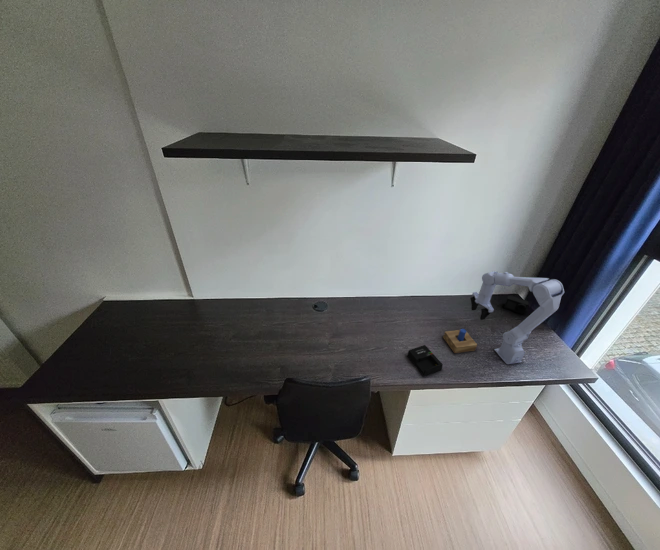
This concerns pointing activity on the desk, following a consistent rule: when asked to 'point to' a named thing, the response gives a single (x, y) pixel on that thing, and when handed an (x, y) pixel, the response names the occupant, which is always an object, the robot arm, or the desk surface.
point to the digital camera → (516, 304)
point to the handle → (461, 335)
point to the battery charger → (424, 360)
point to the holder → (459, 342)
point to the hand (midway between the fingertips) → (477, 314)
